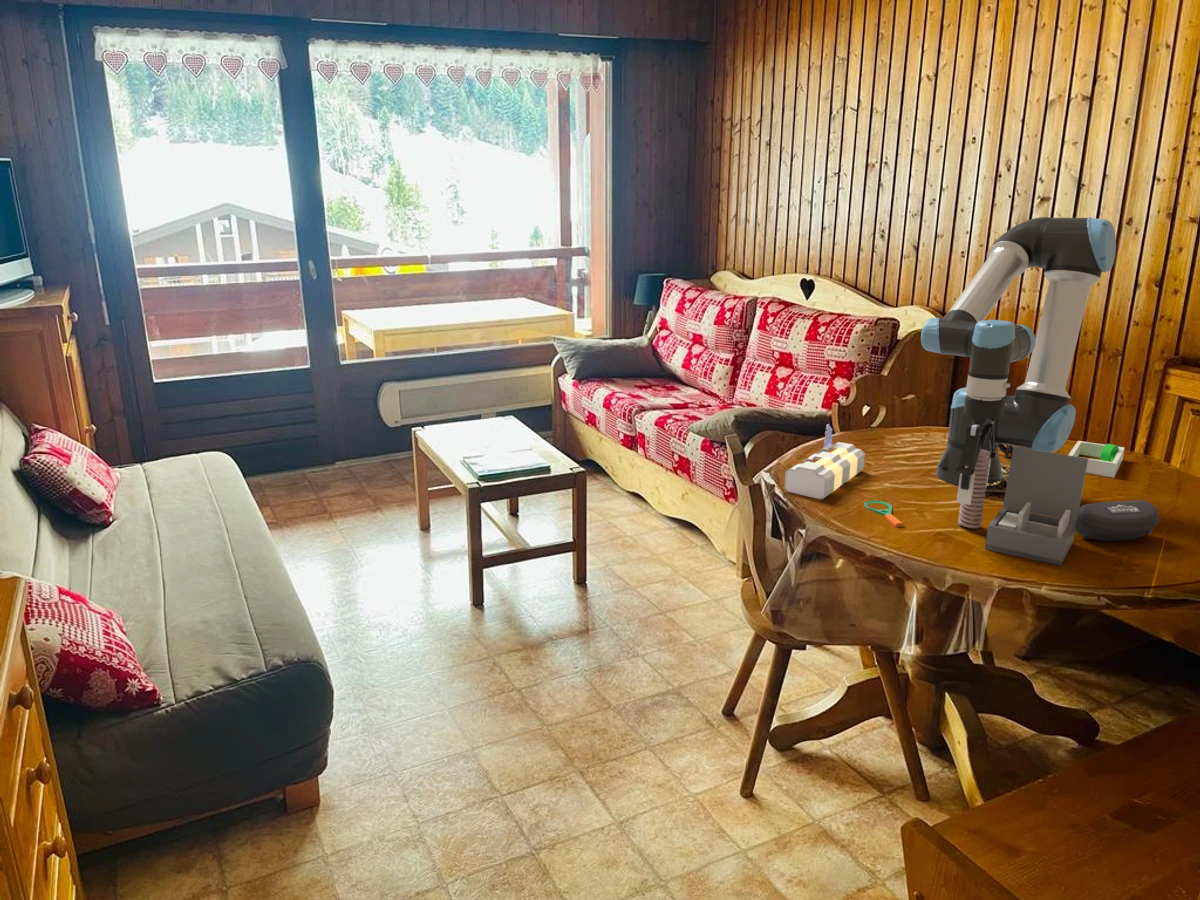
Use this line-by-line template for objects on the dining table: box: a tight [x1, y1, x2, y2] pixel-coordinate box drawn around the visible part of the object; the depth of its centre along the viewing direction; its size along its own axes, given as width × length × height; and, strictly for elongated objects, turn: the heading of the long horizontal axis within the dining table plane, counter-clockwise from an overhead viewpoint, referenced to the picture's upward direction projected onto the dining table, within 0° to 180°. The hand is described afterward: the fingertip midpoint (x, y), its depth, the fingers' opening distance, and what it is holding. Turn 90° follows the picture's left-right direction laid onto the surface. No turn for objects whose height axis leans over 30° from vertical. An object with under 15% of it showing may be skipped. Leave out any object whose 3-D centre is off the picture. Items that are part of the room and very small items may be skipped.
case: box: [984, 447, 1090, 566], centre depth 176 cm, size 14×16×18 cm
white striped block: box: [784, 423, 866, 500], centre depth 213 cm, size 25×10×13 cm, turn 144°
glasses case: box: [1075, 499, 1160, 542], centre depth 181 cm, size 18×10×8 cm, turn 99°
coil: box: [957, 449, 991, 529], centre depth 184 cm, size 5×5×18 cm
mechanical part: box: [1099, 443, 1119, 462], centre depth 228 cm, size 12×6×8 cm, turn 128°
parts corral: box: [1068, 440, 1125, 479], centre depth 226 cm, size 11×17×4 cm, turn 144°
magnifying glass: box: [863, 500, 905, 528], centre depth 194 cm, size 15×6×2 cm, turn 5°
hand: (972, 494), depth 184 cm, fingers open, 13 cm apart
